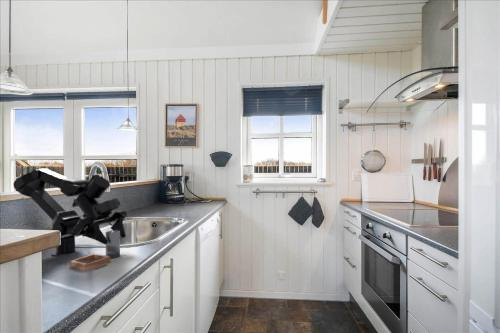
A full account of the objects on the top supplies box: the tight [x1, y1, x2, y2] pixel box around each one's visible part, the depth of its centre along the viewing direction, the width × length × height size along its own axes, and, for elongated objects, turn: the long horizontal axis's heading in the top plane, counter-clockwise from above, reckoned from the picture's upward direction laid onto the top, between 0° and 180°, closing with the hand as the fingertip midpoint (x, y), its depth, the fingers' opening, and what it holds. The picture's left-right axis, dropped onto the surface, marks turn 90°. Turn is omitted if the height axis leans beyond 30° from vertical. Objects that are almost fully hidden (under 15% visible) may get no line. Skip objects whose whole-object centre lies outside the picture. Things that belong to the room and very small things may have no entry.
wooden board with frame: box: [69, 253, 126, 272], centre depth 86 cm, size 12×16×3 cm
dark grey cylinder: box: [105, 229, 121, 260], centre depth 91 cm, size 4×4×9 cm
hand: (116, 240), depth 90 cm, fingers open, 8 cm apart
